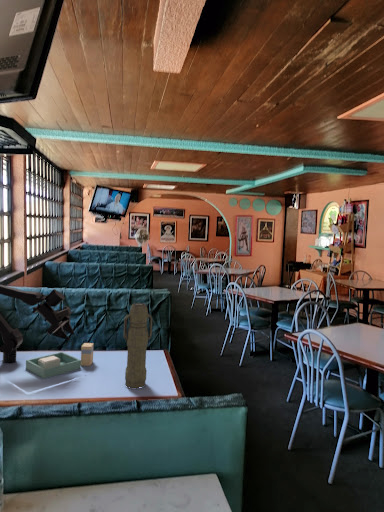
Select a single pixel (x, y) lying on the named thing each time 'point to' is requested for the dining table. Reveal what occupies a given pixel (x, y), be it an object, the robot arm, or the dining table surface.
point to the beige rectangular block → (48, 362)
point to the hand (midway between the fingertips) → (71, 337)
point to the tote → (65, 365)
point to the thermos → (137, 344)
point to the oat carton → (87, 354)
